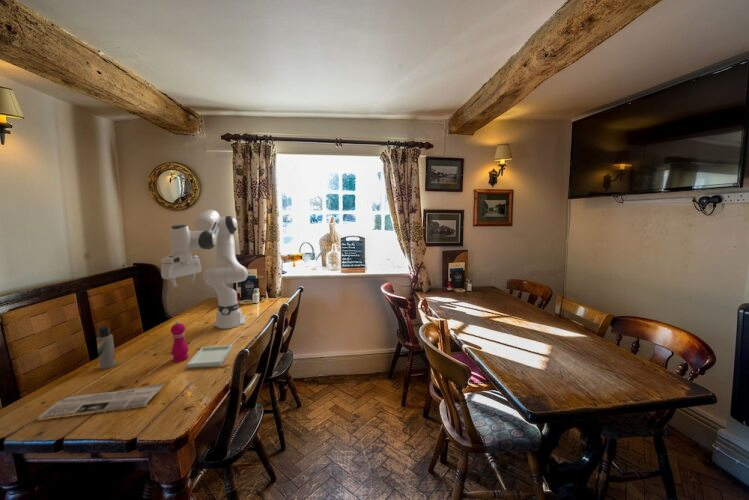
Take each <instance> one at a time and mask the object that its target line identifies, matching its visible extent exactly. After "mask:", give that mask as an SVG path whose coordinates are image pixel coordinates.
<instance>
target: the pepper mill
mask: <svg viewBox="0 0 749 500" xmlns="http://www.w3.org/2000/svg"><path fill="white" fill-rule="evenodd" d="M170 327H171V328H170V332H171V334H172V338H173V345H172V348H171V350H170V351H171V353H170V354H171V355H172V356H173V357H172V359H173V362H175V363H180V362H184V361H186V360H187V359H188V358H189V354H188V352H189V346H188V345H187V343H186V341H185V330H186V326H185V325H184V324H183V323H180V321H179V320H176V321H175V324H173V325H172V326H170Z"/></svg>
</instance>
